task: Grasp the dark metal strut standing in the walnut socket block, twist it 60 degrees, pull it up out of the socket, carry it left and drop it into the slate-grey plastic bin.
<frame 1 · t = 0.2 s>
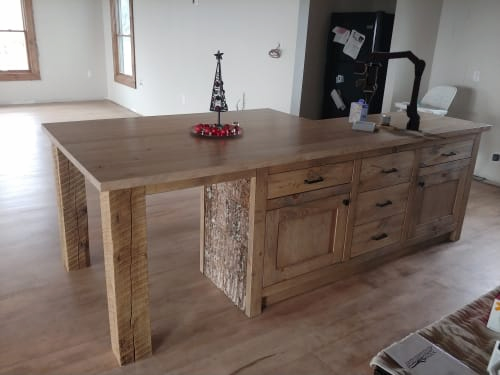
hand: (368, 102, 262), 14 cm above the table, fingers open, 9 cm apart
ink cartridge box: (357, 124, 273), on the table
socket block: (385, 129, 260), on the table
bin: (363, 130, 254), on the table
strut: (385, 127, 260), point 1 cm above the table, touching socket block
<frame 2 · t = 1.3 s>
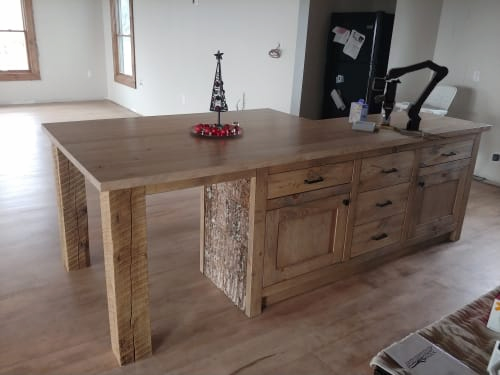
hand: (386, 118, 258), 6 cm above the table, fingers open, 9 cm apart
nothing on the table moved.
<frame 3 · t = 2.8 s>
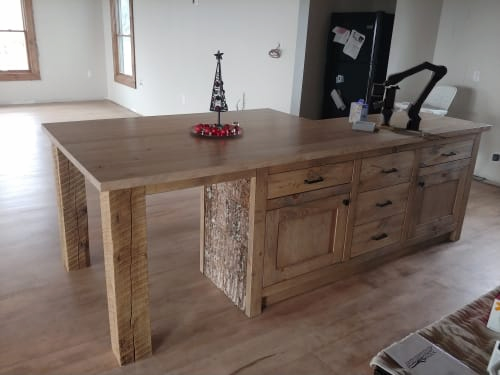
hand: (385, 124, 259), 3 cm above the table, fingers closed on strut, 4 cm apart
strut: (385, 127, 260), point 1 cm above the table, touching gripper, socket block
everything else where it was.
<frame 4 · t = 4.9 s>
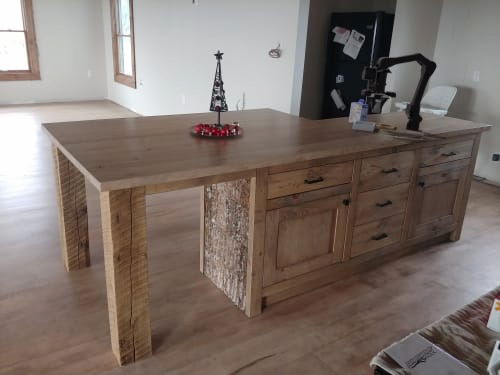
hand: (376, 109, 253), 12 cm above the table, fingers closed on strut, 4 cm apart
strut: (375, 112, 254), point 10 cm above the table, touching gripper
everything else where it was.
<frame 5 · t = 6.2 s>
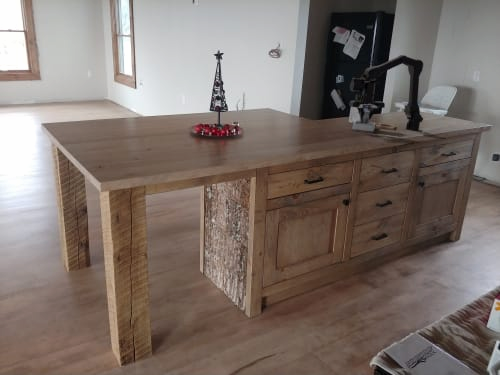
hand: (365, 119, 252), 6 cm above the table, fingers closed on strut, 4 cm apart
strut: (364, 122, 253), point 4 cm above the table, touching gripper
everything else where it was.
when the fingers open (4 cm above the table, at t = 7.3 s): strut drops 2 cm, resting on bin.
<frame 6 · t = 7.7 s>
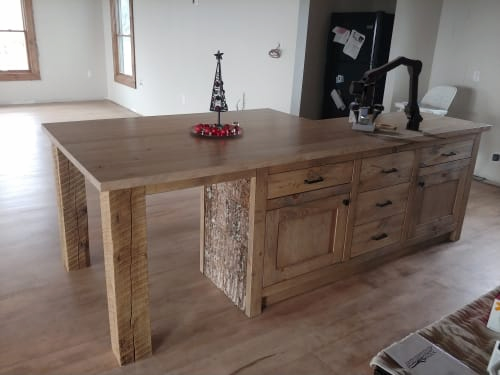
hand: (364, 122, 252), 4 cm above the table, fingers open, 9 cm apart
strut: (363, 129, 254), point 1 cm above the table, touching bin
everything else where it was.
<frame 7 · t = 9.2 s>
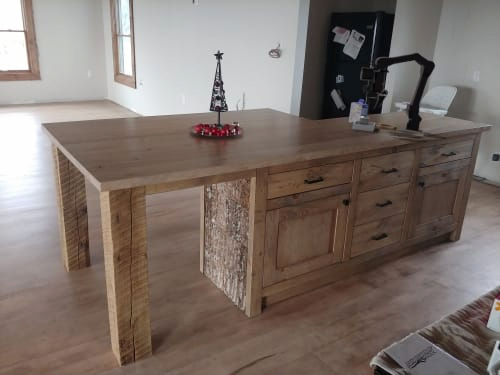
hand: (375, 108, 256), 12 cm above the table, fingers open, 9 cm apart
nothing on the table moved.
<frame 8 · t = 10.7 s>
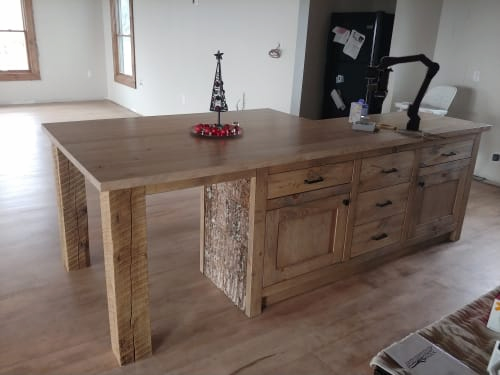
hand: (379, 107, 259), 12 cm above the table, fingers open, 9 cm apart
nothing on the table moved.
at the end: strut inside the target area on the bin (0.1 cm from its centre), point 0.7 cm above the bin's base; the gripper is holding nothing; strut touching bin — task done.
